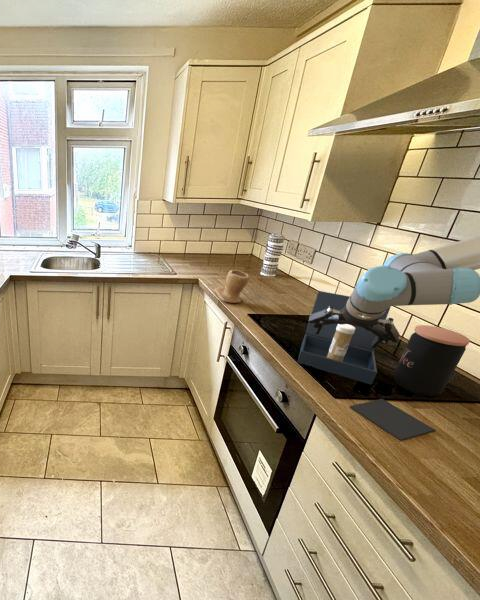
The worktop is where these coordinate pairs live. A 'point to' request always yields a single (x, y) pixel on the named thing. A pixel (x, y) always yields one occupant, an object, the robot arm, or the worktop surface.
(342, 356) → the sprinkles bottle
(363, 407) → the mat
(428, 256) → the robot arm
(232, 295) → the stone cup
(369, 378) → the chest
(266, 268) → the leaning tower model
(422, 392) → the coffee jar
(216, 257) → the worktop surface
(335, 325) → the chest lid
